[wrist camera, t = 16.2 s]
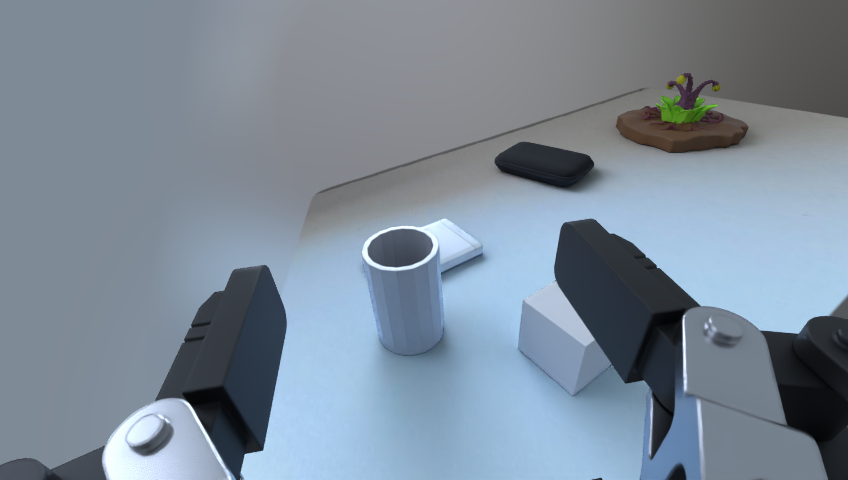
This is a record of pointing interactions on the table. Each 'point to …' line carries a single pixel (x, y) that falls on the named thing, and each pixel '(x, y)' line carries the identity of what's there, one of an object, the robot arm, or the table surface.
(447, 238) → the hard drive
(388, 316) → the pot
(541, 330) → the white cube
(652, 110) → the plant
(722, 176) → the table surface
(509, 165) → the carrying case
